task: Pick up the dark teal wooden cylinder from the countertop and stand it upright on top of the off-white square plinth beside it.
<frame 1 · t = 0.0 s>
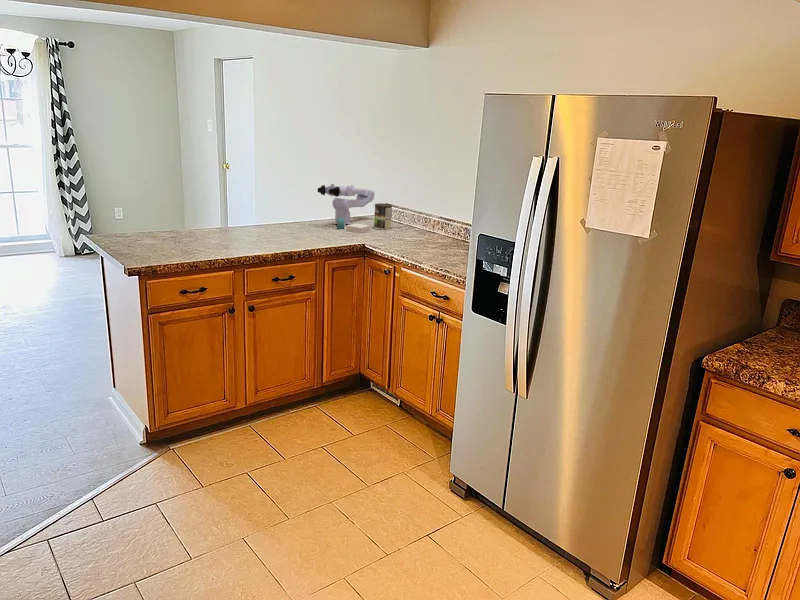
hand: (323, 190, 348), 22 cm above the worktop, tool horizontal, fingers open, 7 cm apart
plinth: (358, 230, 353), on the worktop
teal cylinder: (340, 228, 356), on the worktop
coffee can: (382, 228, 365), on the worktop
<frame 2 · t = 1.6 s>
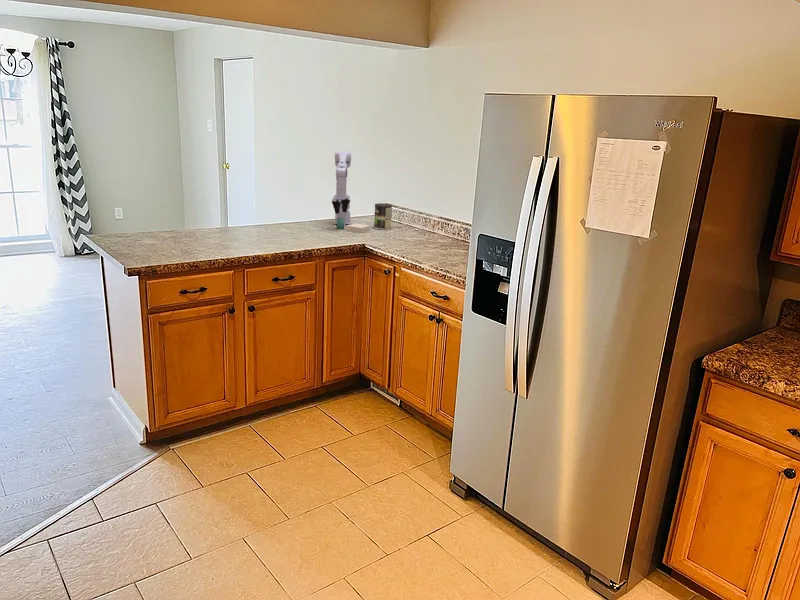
hand: (340, 212, 353), 9 cm above the worktop, tool pointing down, fingers open, 7 cm apart
nothing on the worktop moved.
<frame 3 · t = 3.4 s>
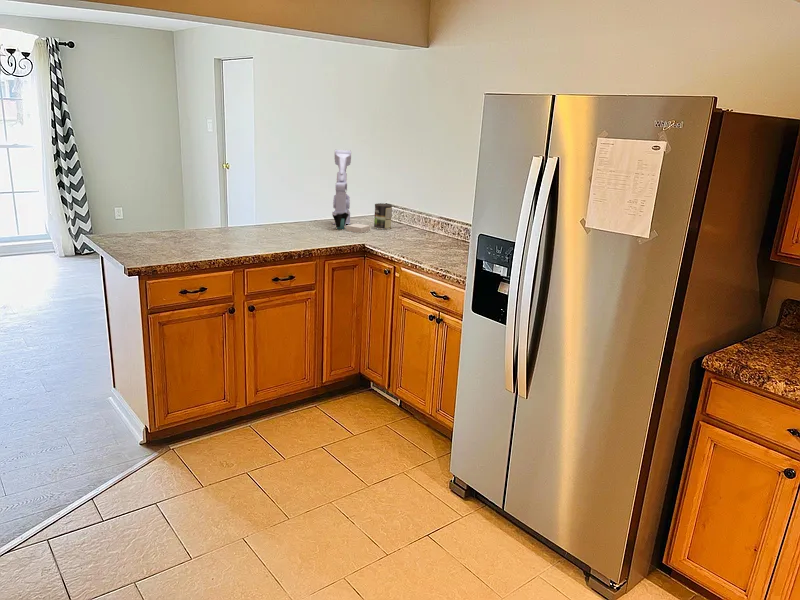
hand: (340, 226, 355), 1 cm above the worktop, tool pointing down, fingers closed on teal cylinder, 4 cm apart
teal cylinder: (340, 228, 356), on the worktop, touching gripper
everything else where it was.
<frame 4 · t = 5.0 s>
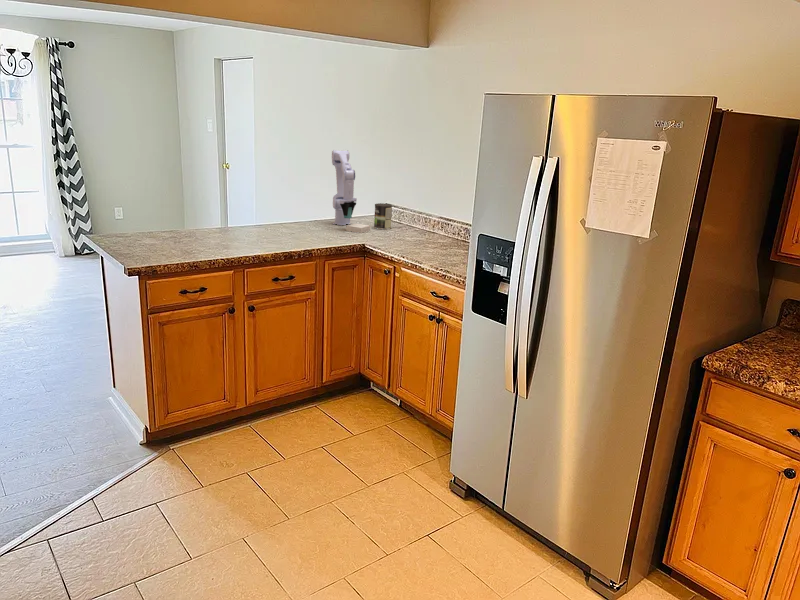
hand: (347, 215, 352), 8 cm above the worktop, tool pointing down, fingers closed on teal cylinder, 4 cm apart
teal cylinder: (347, 217, 352), point 7 cm above the worktop, touching gripper
everything else where it was.
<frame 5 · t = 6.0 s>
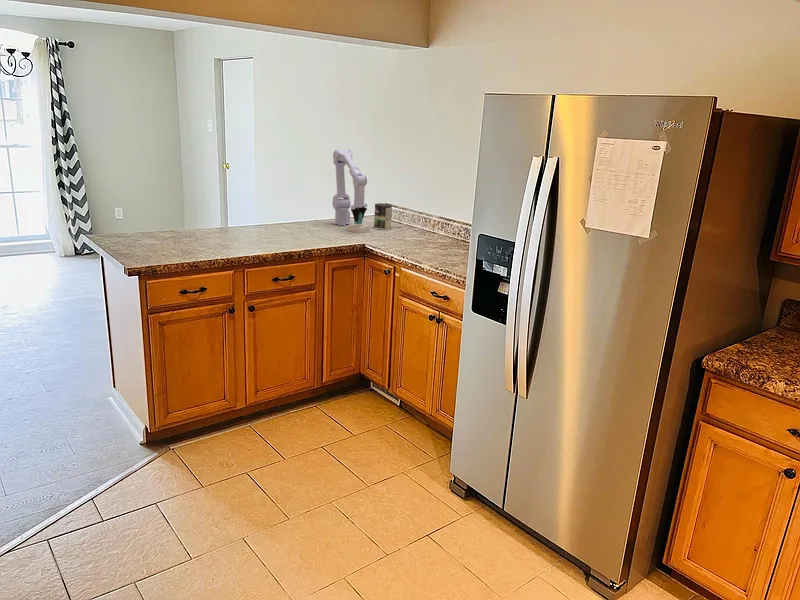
hand: (358, 220, 351), 6 cm above the worktop, tool pointing down, fingers closed on teal cylinder, 4 cm apart
teal cylinder: (358, 223, 351), point 4 cm above the worktop, touching gripper
everything else where it was.
when the fingers open (6 cm above the worktop, at t = 6.7 s): teal cylinder drops 1 cm, resting on plinth.
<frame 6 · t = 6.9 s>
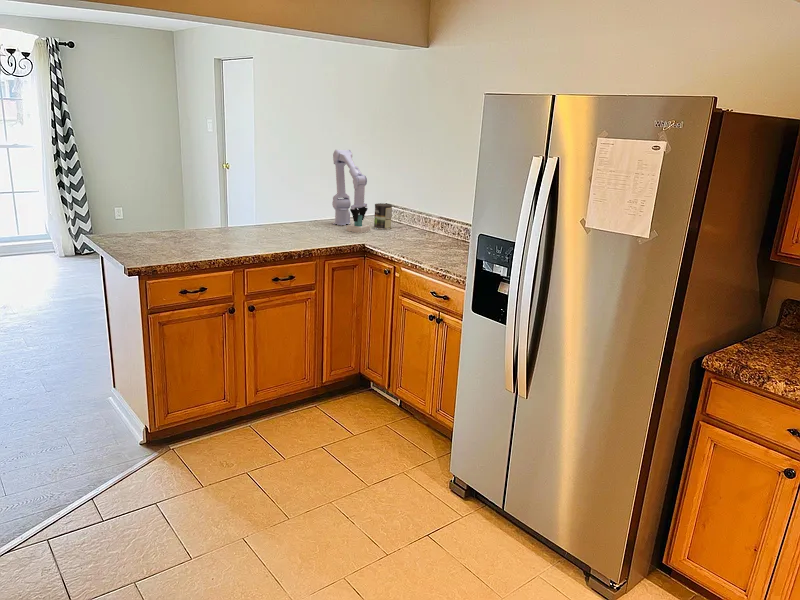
hand: (358, 220, 351), 6 cm above the worktop, tool pointing down, fingers open, 6 cm apart
teal cylinder: (358, 225, 352), point 3 cm above the worktop, touching plinth
everything else where it was.
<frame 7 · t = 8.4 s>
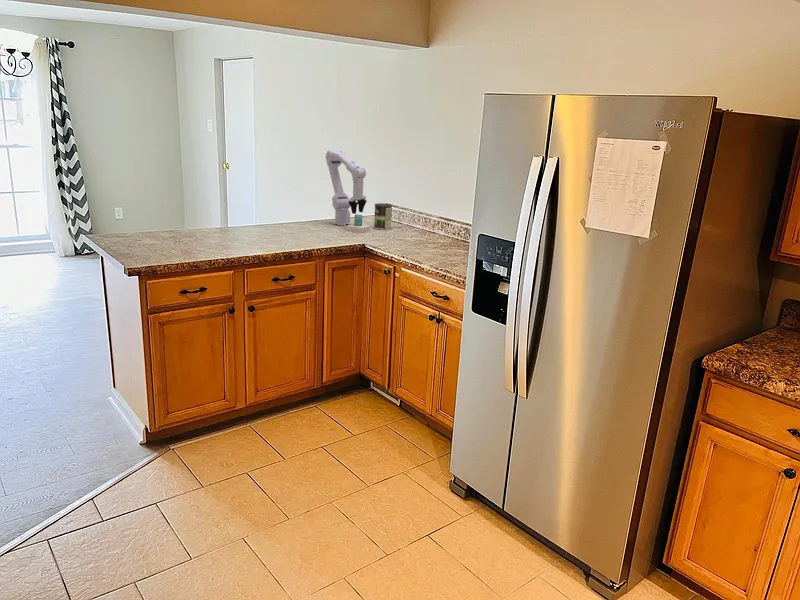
hand: (357, 212, 356), 9 cm above the worktop, tool pointing down, fingers open, 7 cm apart
nothing on the worktop moved.
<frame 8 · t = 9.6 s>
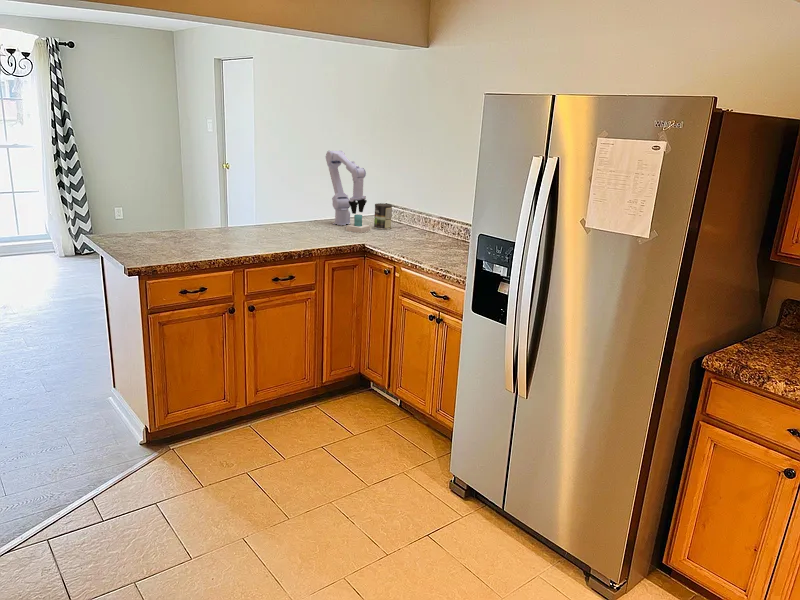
hand: (357, 212, 356), 9 cm above the worktop, tool pointing down, fingers open, 7 cm apart
nothing on the worktop moved.
at the end: teal cylinder 0.1 cm off-centre on the plinth, point 3.1 cm above the plinth's base; teal cylinder tilted 2°; the gripper is holding nothing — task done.
